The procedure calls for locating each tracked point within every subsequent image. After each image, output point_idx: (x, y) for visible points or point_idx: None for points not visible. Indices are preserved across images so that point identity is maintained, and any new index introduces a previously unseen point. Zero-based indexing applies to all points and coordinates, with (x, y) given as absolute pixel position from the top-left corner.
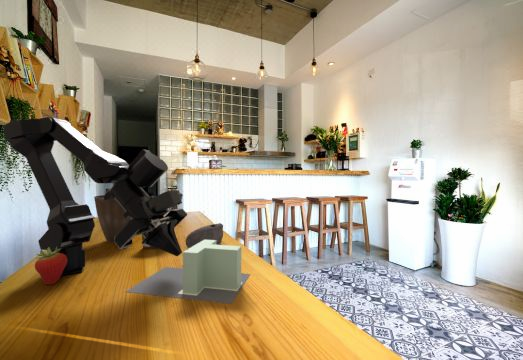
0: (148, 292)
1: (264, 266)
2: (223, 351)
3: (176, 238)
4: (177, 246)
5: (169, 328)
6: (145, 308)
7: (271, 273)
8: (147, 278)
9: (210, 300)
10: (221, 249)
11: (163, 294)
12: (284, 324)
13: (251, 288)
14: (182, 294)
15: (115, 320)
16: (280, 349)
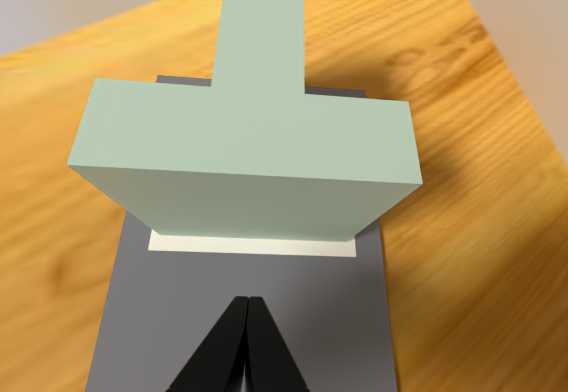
0: (381, 380)
1: (65, 47)
2: (506, 78)
3: (179, 386)
4: (243, 330)
5: (502, 193)
6: (460, 316)
7: (137, 26)
8: None
9: None
10: (303, 16)
11: (377, 305)
12: (396, 3)
13: None
14: (356, 237)
15: (548, 366)
16: (462, 9)
